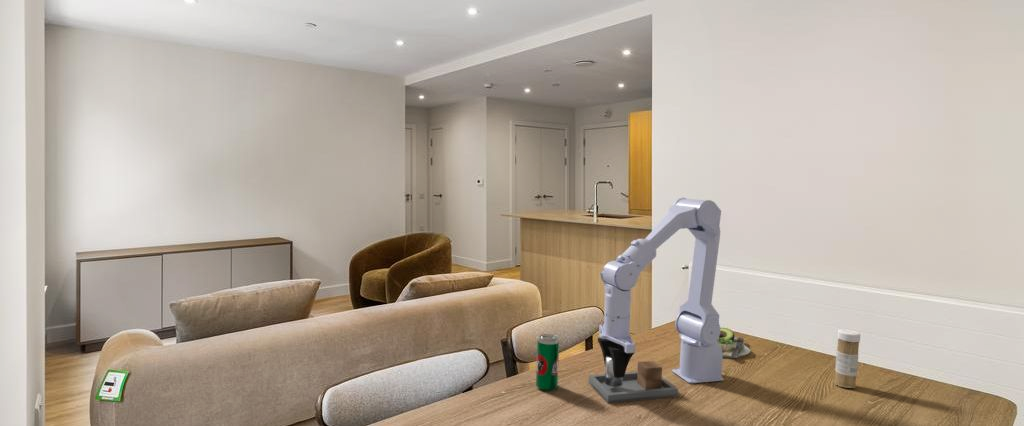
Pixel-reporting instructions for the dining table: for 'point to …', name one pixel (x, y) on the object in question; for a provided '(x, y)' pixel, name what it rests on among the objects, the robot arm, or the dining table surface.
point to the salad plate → (731, 344)
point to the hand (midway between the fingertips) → (614, 373)
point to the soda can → (547, 362)
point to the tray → (630, 389)
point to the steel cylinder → (611, 374)
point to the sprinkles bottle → (847, 358)
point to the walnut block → (649, 375)
